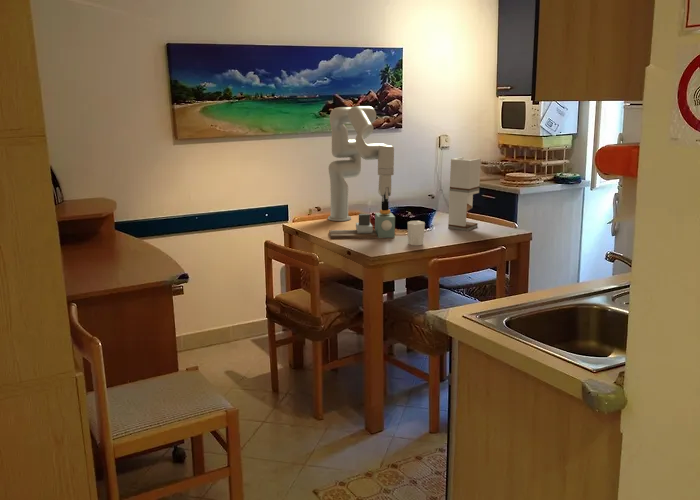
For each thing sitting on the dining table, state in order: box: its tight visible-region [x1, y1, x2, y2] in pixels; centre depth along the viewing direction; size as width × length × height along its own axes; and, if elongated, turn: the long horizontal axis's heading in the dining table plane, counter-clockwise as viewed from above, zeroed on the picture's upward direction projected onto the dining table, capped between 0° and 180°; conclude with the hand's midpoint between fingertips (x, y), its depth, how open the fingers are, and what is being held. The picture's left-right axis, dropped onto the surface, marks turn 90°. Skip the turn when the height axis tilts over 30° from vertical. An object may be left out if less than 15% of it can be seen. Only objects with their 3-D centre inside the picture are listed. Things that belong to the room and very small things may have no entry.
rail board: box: [328, 229, 378, 240], centre depth 318 cm, size 12×22×3 cm, turn 96°
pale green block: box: [374, 212, 396, 239], centre depth 319 cm, size 11×8×10 cm
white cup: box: [407, 220, 426, 246], centre depth 302 cm, size 8×8×10 cm
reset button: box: [379, 208, 391, 214], centre depth 317 cm, size 5×5×2 cm
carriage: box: [355, 213, 374, 233], centre depth 318 cm, size 9×7×9 cm
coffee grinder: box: [447, 157, 482, 232], centre depth 334 cm, size 11×11×35 cm
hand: (385, 209), depth 317 cm, fingers closed
